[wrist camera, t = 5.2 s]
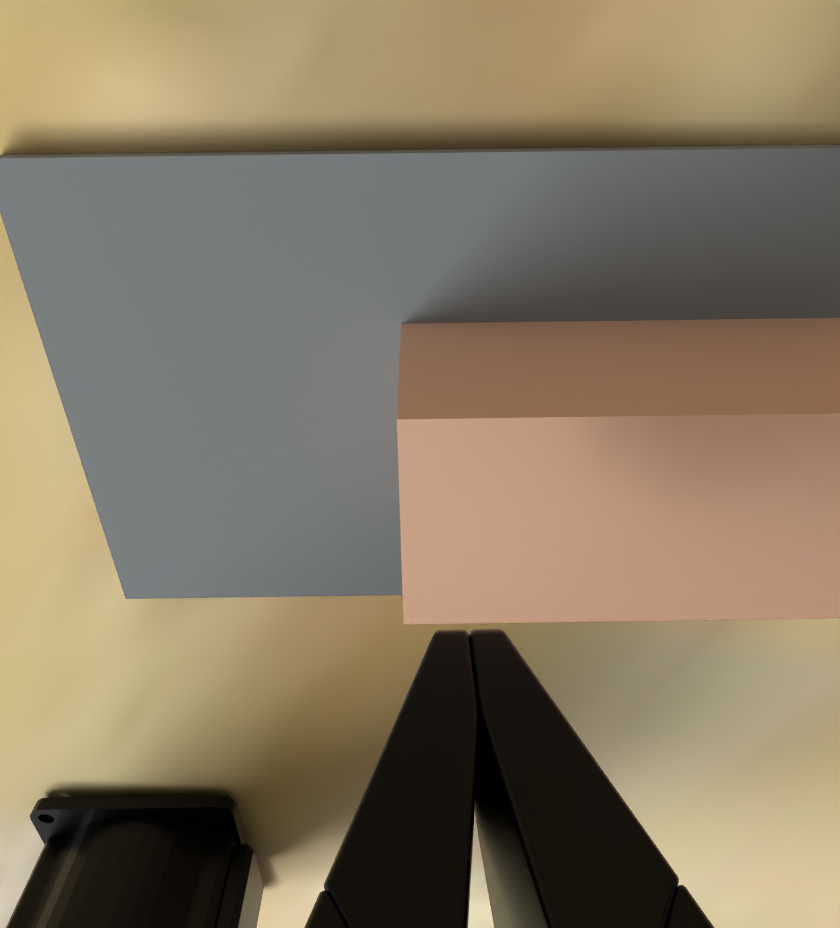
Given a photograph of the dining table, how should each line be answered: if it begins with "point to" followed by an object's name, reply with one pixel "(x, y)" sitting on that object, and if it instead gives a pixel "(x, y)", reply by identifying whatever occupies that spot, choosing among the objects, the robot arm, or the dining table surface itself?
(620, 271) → the slate mat
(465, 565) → the terracotta block
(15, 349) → the dining table surface
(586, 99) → the dining table surface
